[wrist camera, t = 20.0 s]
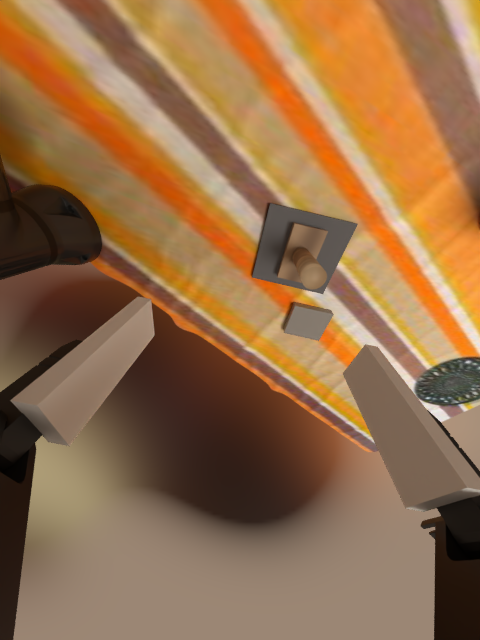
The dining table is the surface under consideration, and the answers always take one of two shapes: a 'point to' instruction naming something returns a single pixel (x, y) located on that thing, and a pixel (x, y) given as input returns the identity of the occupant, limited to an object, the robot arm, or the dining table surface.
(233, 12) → the dining table surface
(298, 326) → the tile
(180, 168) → the dining table surface
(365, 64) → the dining table surface
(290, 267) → the tamper
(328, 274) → the mat
